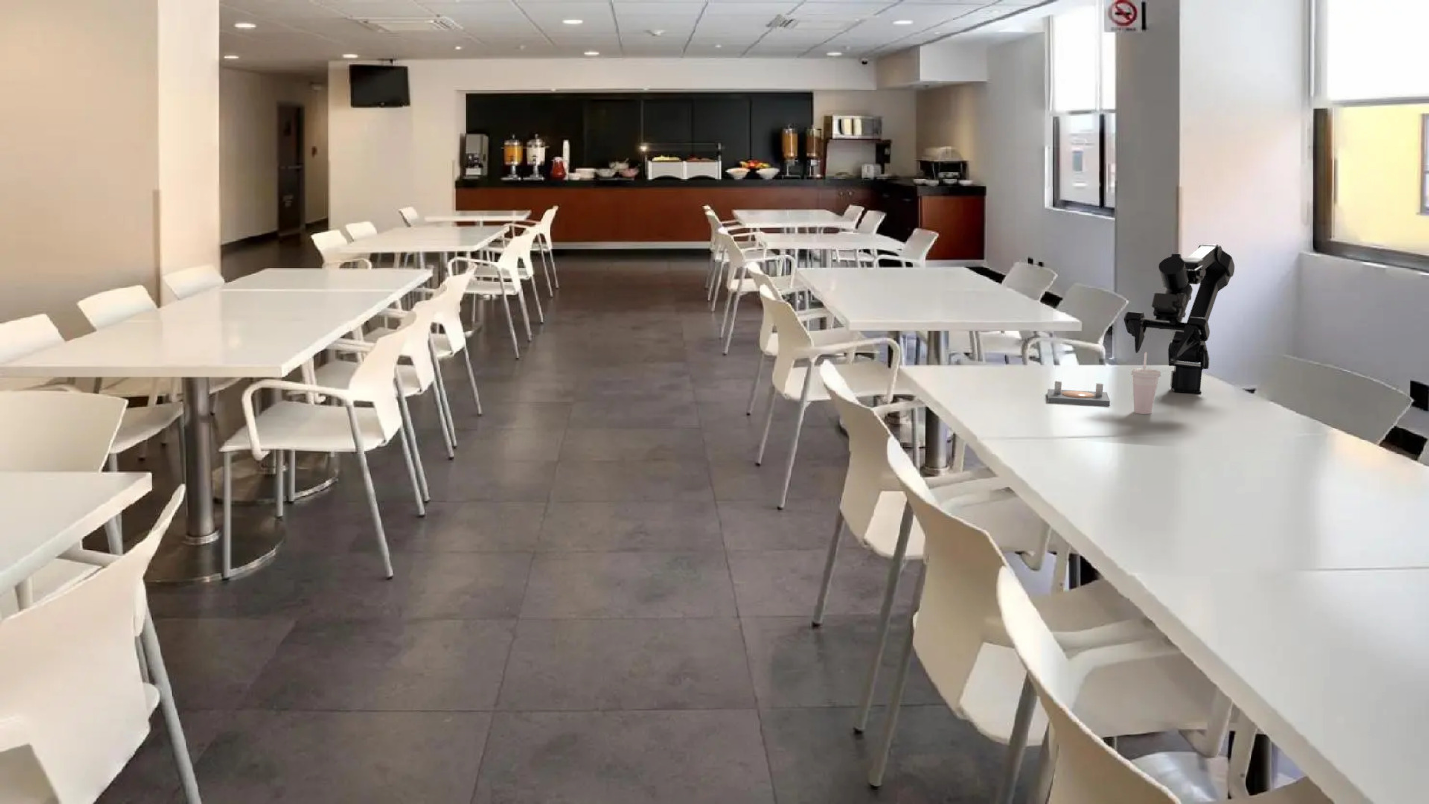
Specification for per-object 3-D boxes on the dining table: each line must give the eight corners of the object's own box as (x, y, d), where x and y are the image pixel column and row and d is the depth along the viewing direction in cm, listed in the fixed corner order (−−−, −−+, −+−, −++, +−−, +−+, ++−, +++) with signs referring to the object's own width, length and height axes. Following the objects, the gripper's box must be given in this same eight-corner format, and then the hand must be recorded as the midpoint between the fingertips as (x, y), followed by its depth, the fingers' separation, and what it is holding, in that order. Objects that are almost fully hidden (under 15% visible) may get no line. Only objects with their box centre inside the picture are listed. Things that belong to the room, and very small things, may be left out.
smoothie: (1122, 410, 283) (1126, 350, 280) (1143, 408, 286) (1148, 349, 283) (1142, 416, 277) (1147, 355, 275) (1163, 413, 280) (1168, 353, 277)
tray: (1106, 397, 298) (1107, 380, 298) (1109, 406, 288) (1110, 388, 287) (1047, 393, 302) (1048, 377, 301) (1048, 402, 291) (1049, 385, 290)
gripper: (1129, 277, 290) (1109, 328, 284) (1211, 283, 279) (1192, 336, 273) (1137, 307, 298) (1118, 357, 292) (1217, 314, 287) (1199, 366, 281)
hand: (1156, 353), depth 284 cm, fingers open, 9 cm apart
